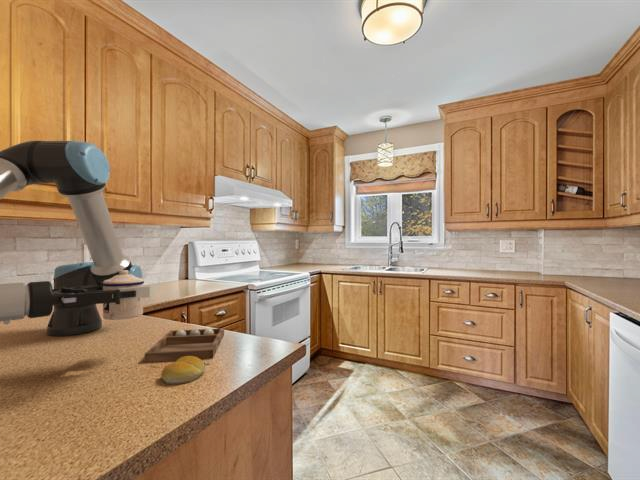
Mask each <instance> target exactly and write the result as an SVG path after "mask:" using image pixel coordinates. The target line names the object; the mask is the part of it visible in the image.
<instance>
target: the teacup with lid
mask: <svg viewBox="0 0 640 480" xmlns="http://www.w3.org/2000/svg"><path fill="white" fill-rule="evenodd" d="M144 283H145V280H144V279H143V278H142V279H141V278H137V277H135V276H134V275H131V274H128V270H121V271H119V275H115V276H114V277H112V278H110V279H108V280H105V281H103V284H102V285H103V290H117V289H118V290H119V289H121V288H132V287H143V286H144ZM112 298H113V294H112ZM143 314H144V298H139V299H131V300H122V301H120V304H117V305H116V303H102V318H103V319H104V320H109V321H119V320H129V319H134V318H138V317H140V316H142V315H143Z"/></svg>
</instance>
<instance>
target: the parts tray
mask: <svg viewBox="0 0 640 480" xmlns="http://www.w3.org/2000/svg"><path fill="white" fill-rule="evenodd" d="M196 329H197V328H196ZM206 329H207V328H199V329H197V330H199V331H200V335H190V332H191V331H192V330H193V329H183V330H184V331H185V332H186V336H175V334H176V332H177V331H179V330H180V329H178V330H169V331H168V332H167V333H166V334H165V335H164V336H163V337H162V338H160V339H159V340H158V341H157V342H156V343H155V344H154V345H153V346H151V347H150V349H148V350H147V351H146V352H145V353H144V363H155V362H156V363H157V362H173V361H174V362H175V361H177V360H178V359H179V358H181V357H184V356H194V357H198V358H199V359H200V360H205V359H214V358H215V356H216V354H217V352H218V349H219V347H220V345H221V343H222V340H223V338H224V336H225V328H224V327H221V328H211V329H212V330H213V331H214V334H210V335H204V331H205V330H206Z"/></svg>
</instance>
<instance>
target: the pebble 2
mask: <svg viewBox="0 0 640 480" xmlns="http://www.w3.org/2000/svg"><path fill="white" fill-rule="evenodd" d="M191 330H192V331H191V332H190V335H200V331H199V330H197V328H193V329H191Z"/></svg>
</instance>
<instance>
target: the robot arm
mask: <svg viewBox="0 0 640 480" xmlns="http://www.w3.org/2000/svg"><path fill="white" fill-rule="evenodd" d="M110 170H111V167H110V164H109V160H108V159H107V156H106V155H105V153H104V152H103V151H102V150H101V149H100V148H99V147H98V146H96V145H95V144H94V143H91V142H87V141H78V140H30V141H29V140H28V141H25V142H20V143H16V144H14V145H12V146H9V147H7V148H5V149H2V150H1V151H0V200H2V199H3V198H4V197H6V196H7V195H8V194H10V193H11V192H19V191H22V190H24V188H26V187H28V186H31V185H38V184H54V185H55V187H56V189H57V191H58V194H59V195H61V196H63V197H66V198H67V200H68V201H69V205H70V206H71V209H72V211H73V214H74V217H75V219H76V221H77V222H76V223H77V225H78V228H79V230H80V232H81V234H82V235H81V236H83V239H84V242H85V244H86V247H87V249H88V251H89V255H90V257H91V260H92V261H88V262H87V261H85V262H77V263H70V264H62V265H58V266H57V267H56V268H55V269H54V273H53V278H52V280H53V285H52V283H51V282H50V281H49V280H45V281H43V280H42V281H30V282H29V283H27V284H25V283H24V282H13V283H12V282H10V283H9V282H8V283H0V323H2V322H3V324H4V325H8V324H10V323H11V321H17V320H23V319H24V318H25V317H26V316H27V318H28V319H36V318H43V317H44V318H45V317H49V316H50V315H51V316H50V318H49V321H48V324H47V325H46V335H47V336H51V337H52V336H53V337H62V336H74V335H80V334H81V335H82V334H86V333H90V332H94V331H97V330H99V329H101V328H102V327H103V321H102V317H101V315H100V312H99V309H98V308H97V305H98V304H102V305H103V303H116V305H117V304H120V301H122V300H131V299H139V298H143V299H146V298H150V297H151V293H150V292H151V290H150V289H151V288H150V287H151V286H150V285H145V286H144V285H143V287H132V288H121V289H119V290H118V289H117V290H103V285H102V284H103V281H105V280H108V279H110V278H112V277H114V276H115V275H119V271H121V270H128V274H131V275H134V276H135V277H137V278H141V279H143V270H142V268H141V266H139V265H137V264H132V262H131V261H132V260H131V259H130V257H129V256H127V255H125V254H123V253H124V252H123V249H122V247H121V244H120V242H119V239H118V235H117V232H116V230H115V226H114V223H113V220H112V217H111V214H110V211H109V208H108V205H107V202H106V199H105V196H104V194H103V191H104V190H105V189H106V187H107V185H106V183H107V182H108V181H109V179H110V176H111V173H110ZM112 294H113V298H112Z"/></svg>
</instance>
